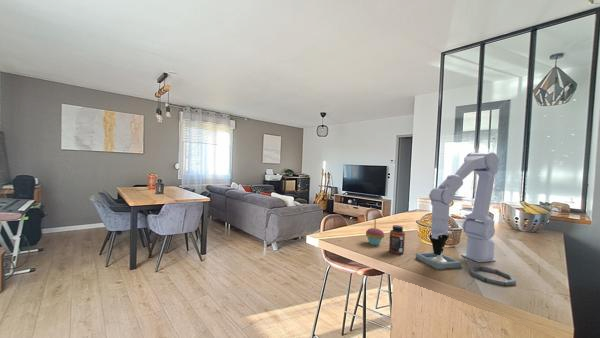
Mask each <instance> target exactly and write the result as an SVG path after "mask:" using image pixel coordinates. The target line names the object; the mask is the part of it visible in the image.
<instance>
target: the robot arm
mask: <svg viewBox="0 0 600 338" xmlns="http://www.w3.org/2000/svg"><path fill="white" fill-rule="evenodd" d="M499 163H500V159H499V157H498V155H497V154H496V153H495V152H494V151H490V152H469V153H467V155H466V156H465V157H464V159H463V163H462V165H461V166H460V167H459V168H458V169H457V171H456V172H455V173H454V174H450V175H447V177H446V178H445V180H444V181H442V183H440V185H439V186H438V187H434V188H432V189H431V190H430V192H429V194H428V197H429V200H430V205H431V206H432V207H431V208H432V209H431V224H430V227H431V228H430V232H431V234H429V235H428V237H429V240H430V242H431V246H432V251H433V252H434V254H436V255H441V252H442V253H443V252H444V249H445V245H446V242H447V240H448V239H449V238H450V236H449V235H451V234H452V231H449V223H450V222H449V218H450V205H451V203H452V202H454V199H455V195H456V193H457V192H458V191H459V189H461V187H462V186H463V185H464V181H463V180H464V179H466V178H467V177H468V176H469V175H470V174H471V173H473V172H474V173H475V174H477V175H478V181H477V185H476V192H475V195H474V196H475V197H474V204H473V208H472V212H470V213H469V214H467V215H466V216H465V219H464V221H463V223H462V231H463V232H464V233H465V235H466V249H465V250H466V253H460V256H463V257H465V258H467V259H470V260H472V261H474V262H477V263H485V262H486V263H487V262H496V260H497V259H495V242H494V241H493V239H492V238H494V235H495V232H496V229H495V221H494V220H493V219H492V217H490V216H489V211H490V206H491V200H492V197H493V195H492V194H493V189H494V184H495V183H494V182H495V177H496V174H498V169H499ZM441 236H442V238H441ZM442 247H443V249H442Z"/></svg>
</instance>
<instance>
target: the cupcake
mask: <svg viewBox="0 0 600 338" xmlns="http://www.w3.org/2000/svg"><path fill="white" fill-rule="evenodd" d="M365 236H366V238H367V239H368V244H370V245H373V246H379V245H380V243H381V242H382V239H384V237H385V233H384V231H383V230H381V229H378V228H377V220H376V218H374V228H371V227H370V228H368V229H367V230H366V231H365Z"/></svg>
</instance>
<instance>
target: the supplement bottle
mask: <svg viewBox="0 0 600 338" xmlns="http://www.w3.org/2000/svg"><path fill="white" fill-rule="evenodd" d="M405 235H406V233H405V231H404V228H403V226H402V225H398V224H393V225H392V229H391V230H390V231H389V245H388V247H389V248H388V249H389V252H390V253H392V254H395V255H403V254H404V252H405V240H406V239H405V237H406V236H405Z"/></svg>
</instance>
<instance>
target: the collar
mask: <svg viewBox="0 0 600 338" xmlns="http://www.w3.org/2000/svg"><path fill="white" fill-rule="evenodd" d="M479 271H483V272H488V273H492V274H496V275H500V276H502V277H504V278H506V280H501V279H496V278H492V277H487V276H485V275H482V274H480V273H478V272H479ZM469 272H471V273H470V275H471V277H475V278H477V279H478V280H481V281H483V282H484V283H485V282H486V283H489V284H493V285H498V286H503V287H508V286H516V285H517V280H516V279H515V277H514V276H513V275H512V274H511V273H507V272H505V271H504V270H503V271H502V270H500V269H497V268H492V267H487V266H484V265H483V266H482V265H481V266H480V265H476V266H470V267H469Z"/></svg>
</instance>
